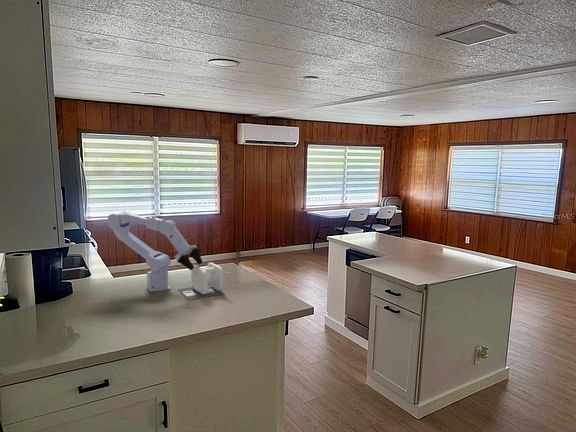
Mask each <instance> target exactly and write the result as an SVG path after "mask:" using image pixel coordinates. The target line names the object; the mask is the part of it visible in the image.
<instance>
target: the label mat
mask: <svg viewBox="0 0 576 432" xmlns="http://www.w3.org/2000/svg"><path fill="white" fill-rule="evenodd" d="M177 291H178V292H179V293H180V294H181V295H183V297H184V298H185V299H186V300H187V301H191V300H198V299H203V298H208V297H214V296H215V297H216V296H222V295H225V293H224V292H223V290H220V291H217V290H216V289H214V288H213V287H210V288H209V290H208V293H207V294H203V295H202V294H201V293H200V292H198V291H197V290H195V289H194V288H193V287H192V286H190V287H186V288H185V287H184V288H178V289H177Z"/></svg>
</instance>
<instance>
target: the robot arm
mask: <svg viewBox="0 0 576 432" xmlns="http://www.w3.org/2000/svg"><path fill="white" fill-rule="evenodd" d="M131 223H134V224H139V225H144V226H146V228H147V229H149V230H153V231H157V232H160V234H162V235H164V236H166V238H167V239H168V240H169V241H170V243H171V244H172V246H173V247H174V249H175V250H176V251H177V252H178V253H176V255H174V258H175V259H176V262H177V263H178V264H181V265H182V266H185V267H186V268H187V269H188V270H190V271H191V270H192V269H193V268H194V267H193V263H192V262H191V260H190V258H189V257H191V258H192V259H193V260H195V263H197V264H198V265H200V266H201V264H202V263H204V261H203V259H202V257H201V254H200V253H201V252H200V248H199V246H198V247H197V246H196V244H194V245H190V244H189V243H188V241H186V239H185V238H184V236H183V235H182V234H181V232H180V231H179V229H178V228H177V223H176V222H175V221H174V220H172V219H168V220H166V219H165V218H159V217H157V216H156V215H152V216H149V217H145V216H142V215H139V214H136V213H132V212H127V211H121V212H116V213H111V214H109V215H108V217H107V226H108V227H109V228H110V229H112V232H113V233H114V235H115V237H116V238H117V239H118V240H120V241H121V242H123V243H124V244H125V245H126V246H128V247H129V248H130V249H132V250H133V251H134V252H136V253H137V254H138V255H140V256H141V257H142V258H143V259H145V264H146V265H147V266H148V267H149V271H147V272H146V288H147V289H148V291H149V292H150V293H152V292H160V291H167V290H171V289H172V287H171V286H169V266H170V264H171V258H170V256H169V255H168V254H165V253H162V252H161V251H157V250H154V249H153V248H152V247H150V246H149V245H147V244H146V243H145V242H144V241H142V240H141V239H140V238H138V237H137V236H135V235H134V234H133V233H131V232H130V226H131V225H130V224H131Z"/></svg>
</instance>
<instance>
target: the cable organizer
mask: <svg viewBox="0 0 576 432" xmlns="http://www.w3.org/2000/svg"><path fill="white" fill-rule="evenodd" d="M192 265H193V264H192ZM193 267H194V268H193V269H192V270H190V274H191V275H190V276H191V277H190V279H191V283H190V284H191V287H193V288H194V289H195V290H197V291H198V292H200V293H201V294H202V295H203V294H207V293H208V290H209V288H210V287H213V288H214V289H216V290H217V291H223V289H224V270H223V268H222V267H221V266H219V265H217V264H215V263H213V262H207V265H206V267H207V268H206V267H205V268H202V267H200V266H198V265H197V264H195V265H193Z"/></svg>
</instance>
